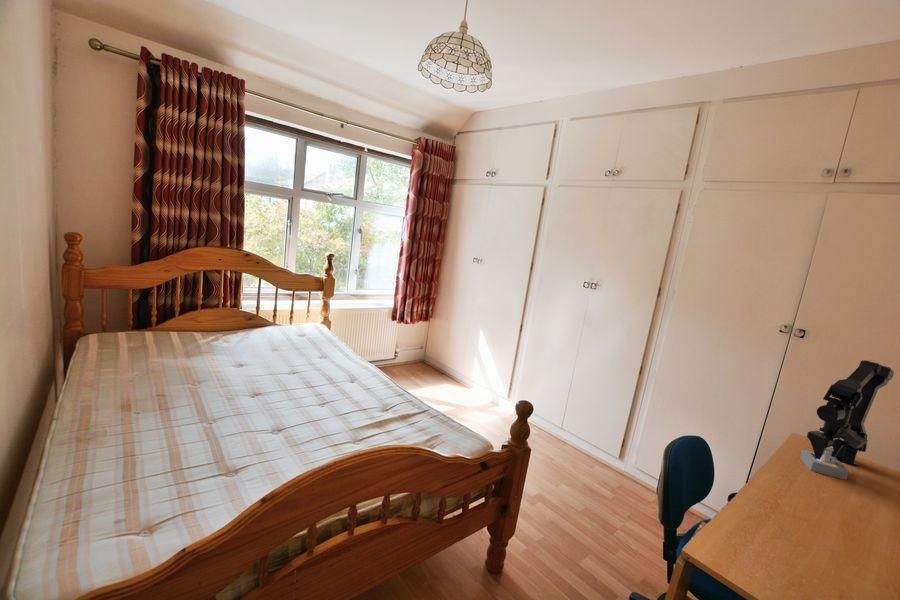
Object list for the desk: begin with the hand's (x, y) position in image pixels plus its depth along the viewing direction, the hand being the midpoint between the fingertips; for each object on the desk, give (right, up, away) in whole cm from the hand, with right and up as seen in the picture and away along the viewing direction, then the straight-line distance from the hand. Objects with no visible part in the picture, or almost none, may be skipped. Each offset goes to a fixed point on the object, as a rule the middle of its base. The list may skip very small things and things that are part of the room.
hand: (825, 457), depth 146 cm
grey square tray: (-1, -4, +1) cm, 4 cm away
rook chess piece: (0, -3, +1) cm, 4 cm away
